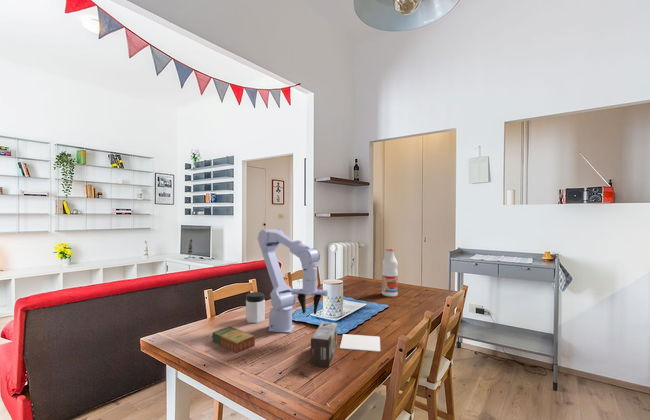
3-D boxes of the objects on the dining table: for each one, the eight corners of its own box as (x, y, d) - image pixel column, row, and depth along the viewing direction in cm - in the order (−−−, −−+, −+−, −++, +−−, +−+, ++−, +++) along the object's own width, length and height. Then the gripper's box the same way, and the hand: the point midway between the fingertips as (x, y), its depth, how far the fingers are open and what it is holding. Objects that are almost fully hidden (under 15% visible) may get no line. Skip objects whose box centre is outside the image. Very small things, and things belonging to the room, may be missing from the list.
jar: (244, 317, 149) (244, 292, 149) (261, 315, 152) (262, 291, 152) (247, 324, 141) (247, 297, 141) (265, 322, 144) (266, 295, 144)
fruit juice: (389, 291, 197) (389, 247, 197) (400, 295, 190) (401, 248, 189) (378, 294, 192) (379, 248, 192) (390, 297, 184) (390, 250, 184)
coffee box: (337, 346, 120) (329, 368, 104) (321, 344, 121) (310, 365, 105) (337, 322, 119) (329, 340, 104) (321, 321, 121) (310, 338, 105)
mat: (339, 348, 118) (339, 347, 118) (343, 334, 131) (343, 334, 131) (380, 351, 115) (380, 351, 115) (379, 337, 128) (379, 336, 128)
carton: (237, 354, 113) (237, 342, 113) (211, 342, 123) (211, 331, 123) (255, 346, 120) (255, 335, 120) (229, 335, 130) (229, 325, 130)
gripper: (289, 280, 123) (289, 315, 123) (326, 282, 121) (326, 317, 121) (294, 276, 130) (293, 309, 130) (328, 278, 128) (328, 311, 128)
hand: (309, 313), depth 126 cm, fingers open, 4 cm apart
